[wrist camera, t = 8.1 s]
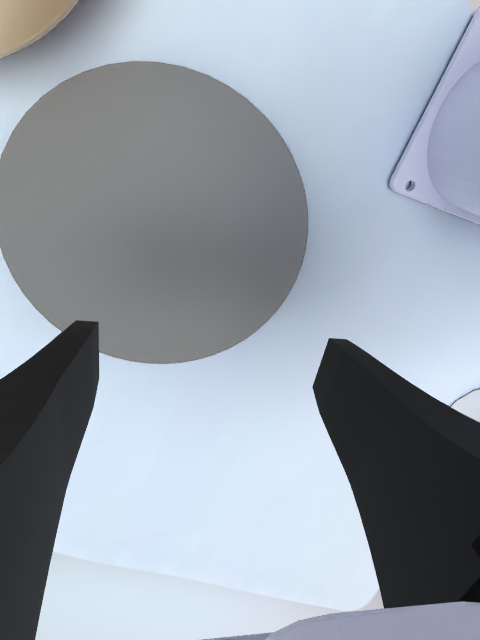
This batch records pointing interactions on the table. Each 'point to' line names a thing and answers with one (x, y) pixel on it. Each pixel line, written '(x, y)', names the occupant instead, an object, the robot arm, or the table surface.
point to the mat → (152, 211)
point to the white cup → (469, 405)
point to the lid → (29, 21)
